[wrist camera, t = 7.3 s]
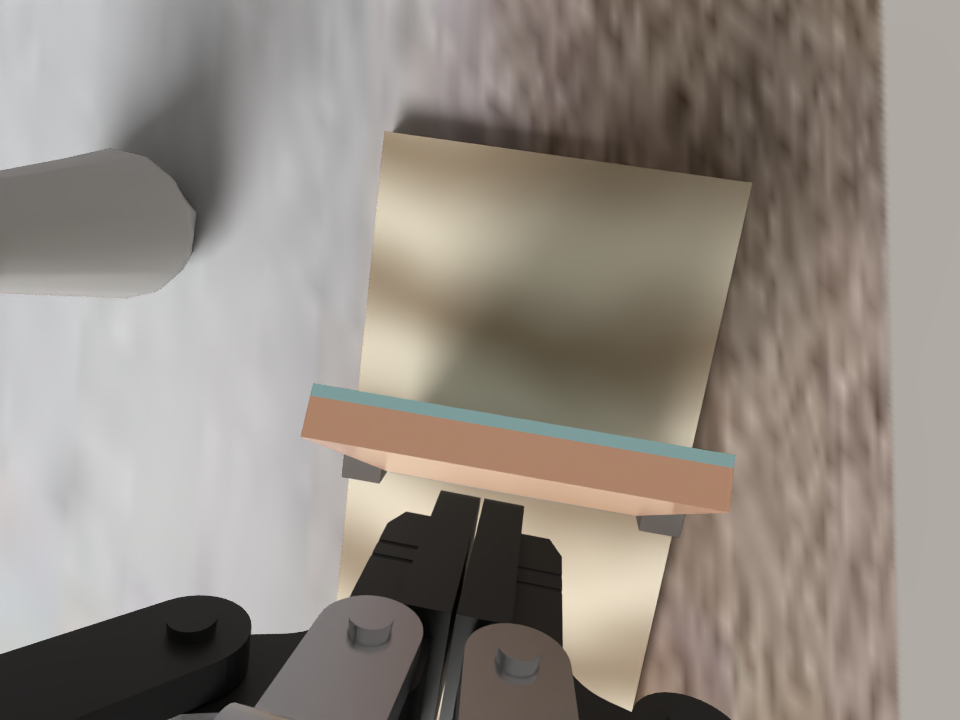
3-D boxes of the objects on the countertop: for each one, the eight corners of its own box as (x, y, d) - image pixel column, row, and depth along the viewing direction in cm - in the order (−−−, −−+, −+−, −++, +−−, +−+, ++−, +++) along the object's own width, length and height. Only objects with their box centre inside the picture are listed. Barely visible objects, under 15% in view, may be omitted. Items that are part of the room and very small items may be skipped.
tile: (392, 473, 29) (398, 442, 30) (629, 515, 29) (633, 484, 29) (300, 436, 16) (313, 383, 17) (729, 512, 16) (735, 455, 16)
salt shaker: (154, 123, 29) (-156, 68, 17) (244, 233, 30) (11, 261, 17) (64, 211, 30) (-286, 223, 18) (151, 315, 31) (-128, 396, 18)
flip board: (391, 133, 28) (373, 127, 25) (744, 183, 27) (764, 182, 24) (334, 682, 34) (315, 723, 32) (618, 740, 33) (623, 788, 31)
